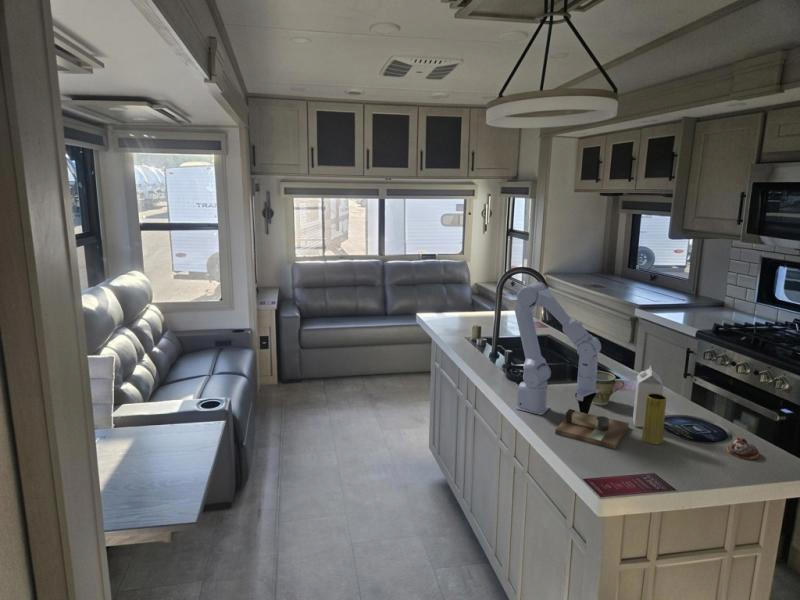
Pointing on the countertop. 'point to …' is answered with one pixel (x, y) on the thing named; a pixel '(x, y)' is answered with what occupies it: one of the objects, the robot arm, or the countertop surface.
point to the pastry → (743, 449)
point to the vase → (654, 419)
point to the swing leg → (587, 420)
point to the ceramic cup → (604, 387)
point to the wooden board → (594, 433)
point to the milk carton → (645, 393)
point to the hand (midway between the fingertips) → (584, 414)
